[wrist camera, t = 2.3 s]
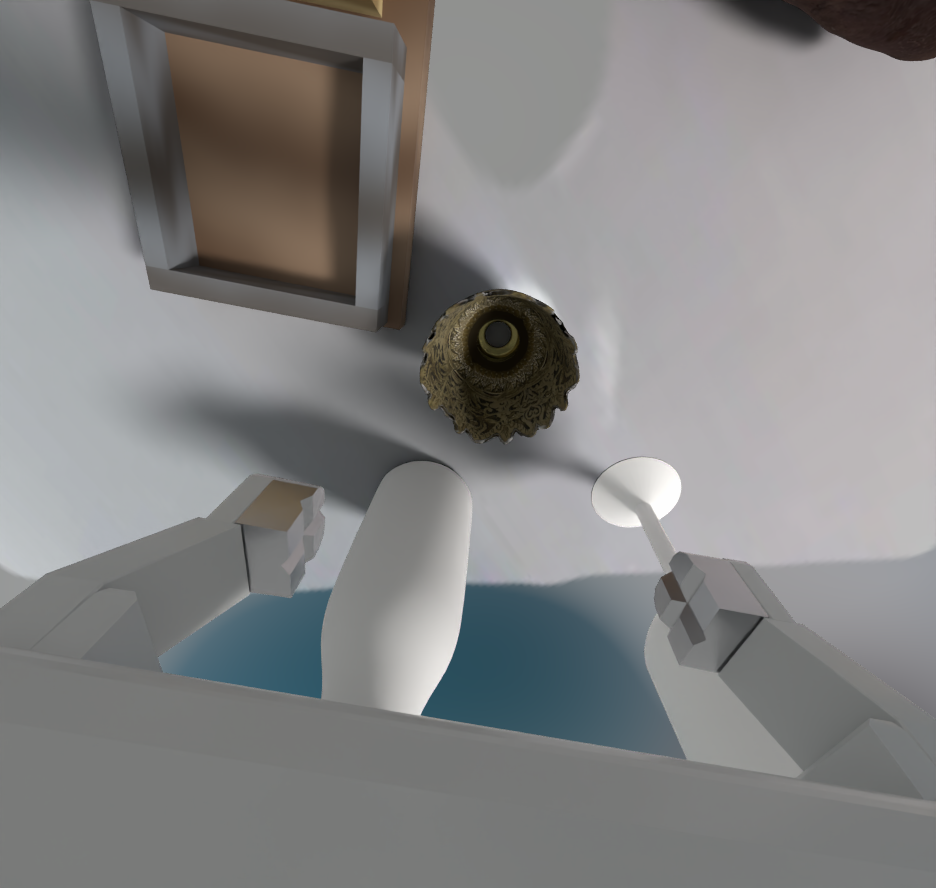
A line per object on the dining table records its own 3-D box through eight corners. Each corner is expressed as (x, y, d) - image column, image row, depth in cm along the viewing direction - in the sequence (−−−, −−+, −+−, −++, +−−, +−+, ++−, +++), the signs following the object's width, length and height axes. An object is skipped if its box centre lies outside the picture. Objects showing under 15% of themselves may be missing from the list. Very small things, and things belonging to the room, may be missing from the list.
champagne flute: (700, 476, 29) (1196, 1092, 9) (647, 537, 33) (914, 1097, 12) (621, 443, 29) (957, 1041, 8) (575, 510, 32) (724, 1062, 11)
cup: (416, 324, 25) (386, 361, 18) (510, 243, 23) (515, 252, 16) (488, 408, 28) (484, 470, 21) (578, 344, 25) (609, 390, 18)
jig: (117, -139, 17) (0, -250, 13) (441, -68, 17) (424, -155, 13) (187, 282, 25) (129, 293, 21) (404, 324, 25) (387, 342, 22)
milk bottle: (365, 466, 31) (195, 775, 14) (460, 449, 30) (406, 768, 12) (396, 539, 35) (293, 860, 17) (482, 527, 33) (465, 861, 16)
